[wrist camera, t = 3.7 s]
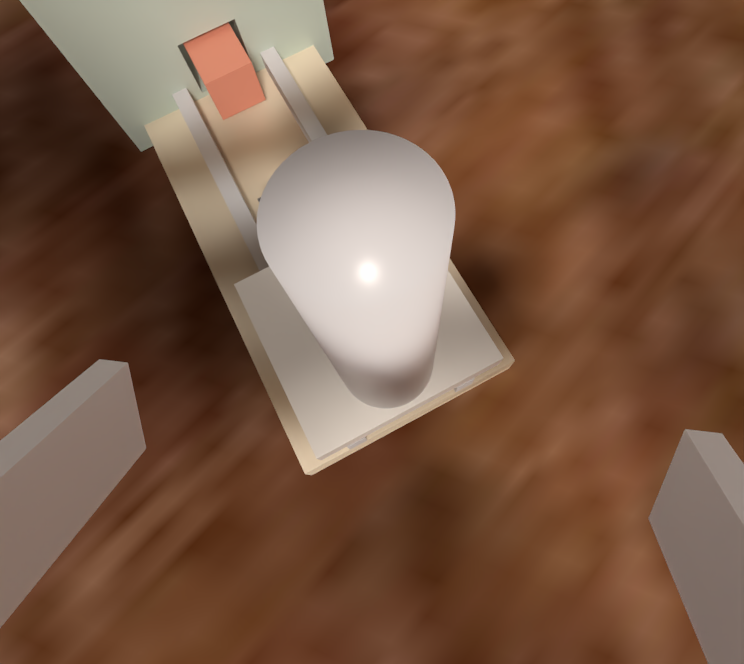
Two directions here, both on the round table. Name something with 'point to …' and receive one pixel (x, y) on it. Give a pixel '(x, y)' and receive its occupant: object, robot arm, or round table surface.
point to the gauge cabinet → (167, 46)
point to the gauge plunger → (225, 70)
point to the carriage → (361, 286)
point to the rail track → (246, 184)
